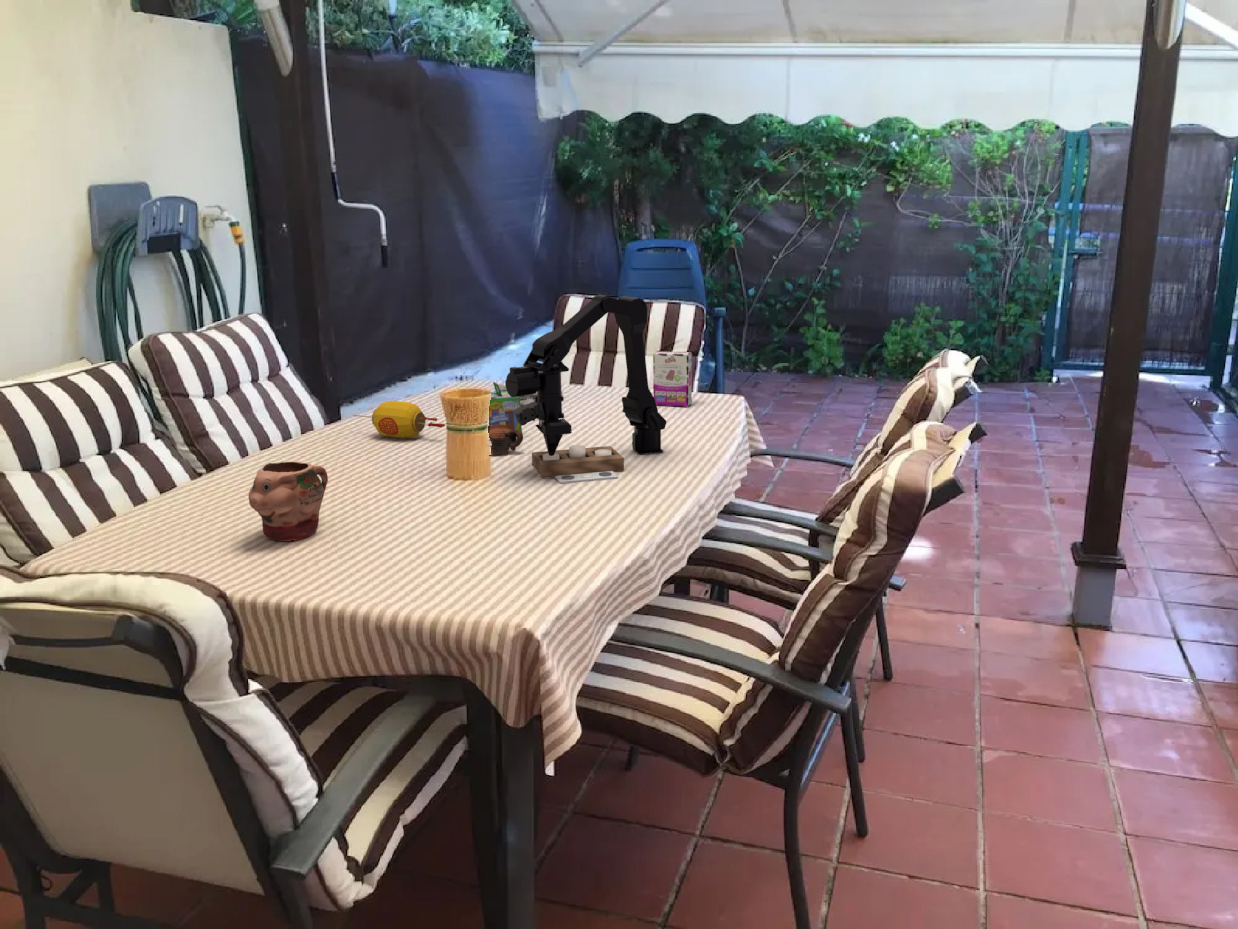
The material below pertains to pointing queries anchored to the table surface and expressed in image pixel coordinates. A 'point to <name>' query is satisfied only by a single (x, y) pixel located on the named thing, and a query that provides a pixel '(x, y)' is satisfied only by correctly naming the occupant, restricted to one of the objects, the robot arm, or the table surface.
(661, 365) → the candy bar box
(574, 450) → the button middle
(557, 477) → the card
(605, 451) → the button
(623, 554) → the table surface
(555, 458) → the button
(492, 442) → the pottery mug
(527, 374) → the robot arm
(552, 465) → the button board
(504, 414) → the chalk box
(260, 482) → the pink animal face cup
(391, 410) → the lantern
